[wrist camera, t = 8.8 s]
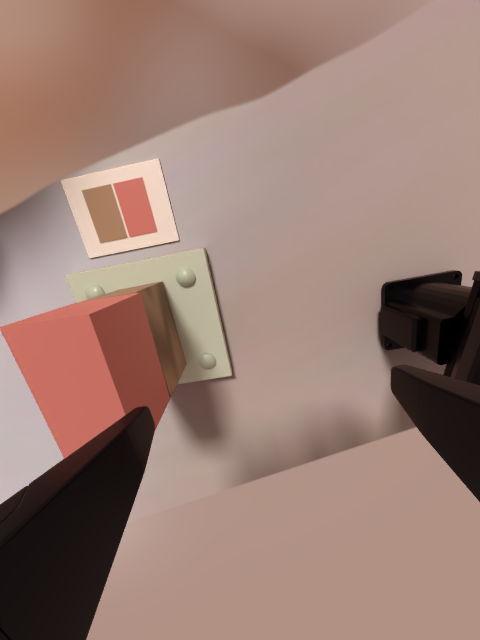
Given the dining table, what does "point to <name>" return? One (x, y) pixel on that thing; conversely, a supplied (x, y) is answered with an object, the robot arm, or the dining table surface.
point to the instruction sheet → (122, 208)
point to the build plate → (172, 304)
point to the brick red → (89, 366)
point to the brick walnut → (159, 329)
